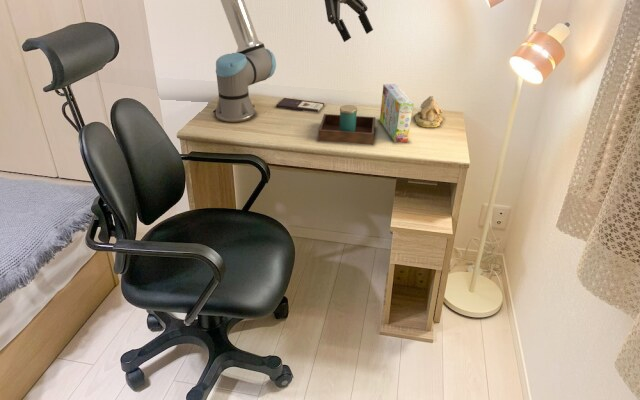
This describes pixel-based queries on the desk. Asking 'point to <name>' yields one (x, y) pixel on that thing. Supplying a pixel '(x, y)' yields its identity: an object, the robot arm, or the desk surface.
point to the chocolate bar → (300, 105)
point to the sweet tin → (348, 118)
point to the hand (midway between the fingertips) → (359, 35)
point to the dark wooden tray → (361, 136)
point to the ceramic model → (429, 114)
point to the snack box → (396, 112)
